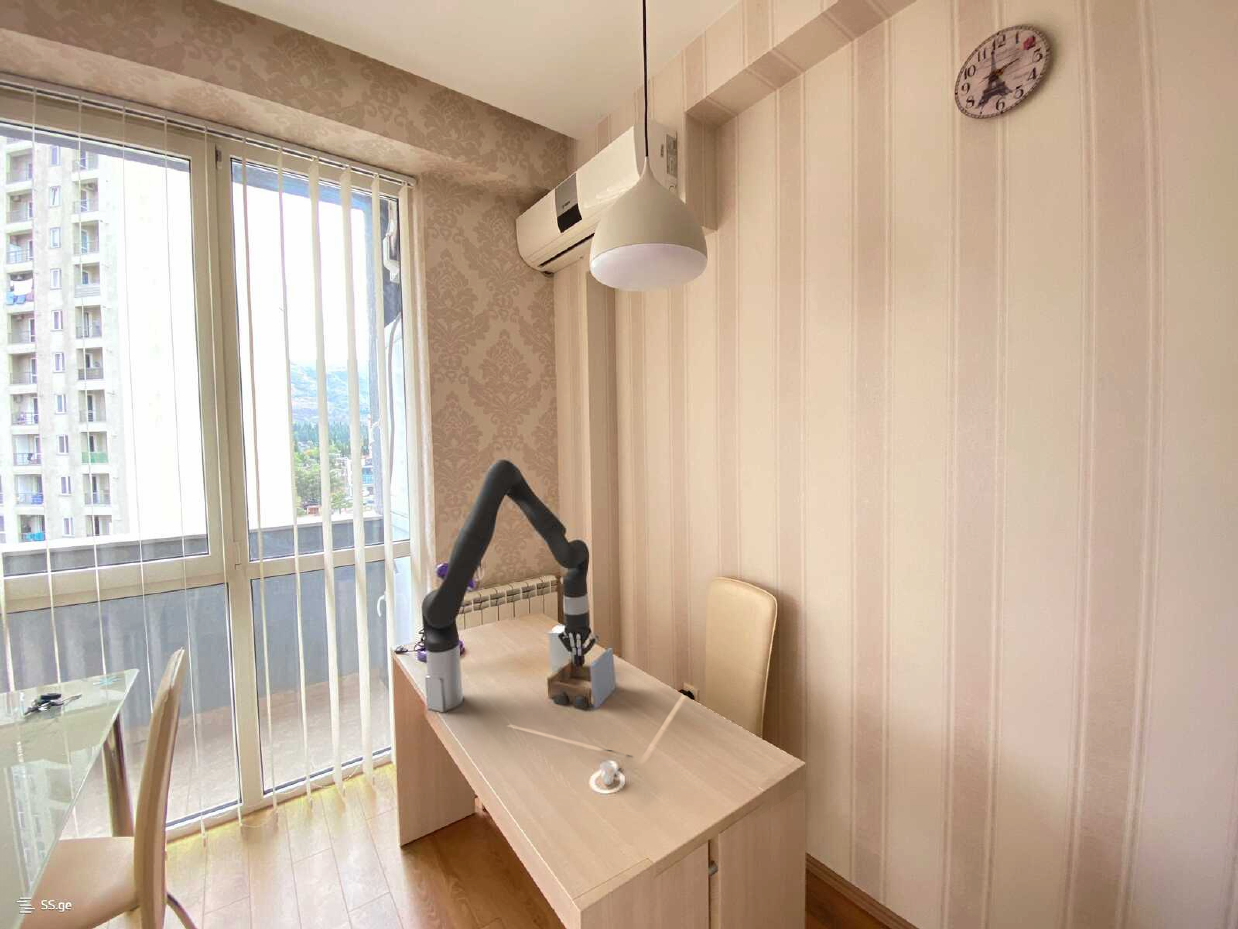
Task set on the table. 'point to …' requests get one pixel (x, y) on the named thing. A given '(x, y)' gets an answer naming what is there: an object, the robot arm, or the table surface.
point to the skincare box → (558, 649)
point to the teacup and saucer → (607, 777)
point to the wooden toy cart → (571, 686)
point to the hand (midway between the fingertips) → (579, 665)
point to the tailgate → (602, 677)
